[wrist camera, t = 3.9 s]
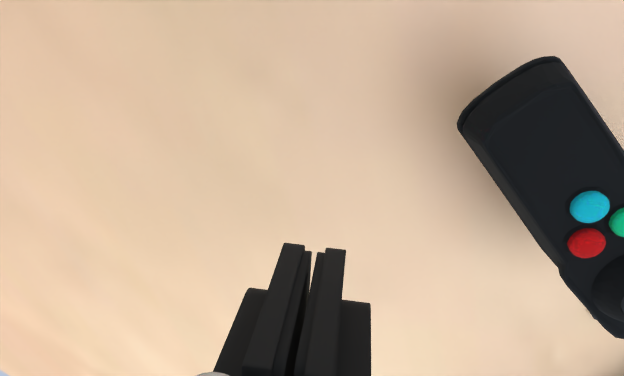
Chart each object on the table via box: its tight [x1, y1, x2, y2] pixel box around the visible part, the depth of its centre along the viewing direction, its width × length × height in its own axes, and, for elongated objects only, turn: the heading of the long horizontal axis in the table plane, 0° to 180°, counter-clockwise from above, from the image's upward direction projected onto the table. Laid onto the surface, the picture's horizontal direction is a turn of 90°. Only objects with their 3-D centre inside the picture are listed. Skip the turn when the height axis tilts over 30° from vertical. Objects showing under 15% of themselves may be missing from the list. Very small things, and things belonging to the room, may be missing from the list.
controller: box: [457, 56, 624, 339], centre depth 16 cm, size 4×12×10 cm, turn 42°
